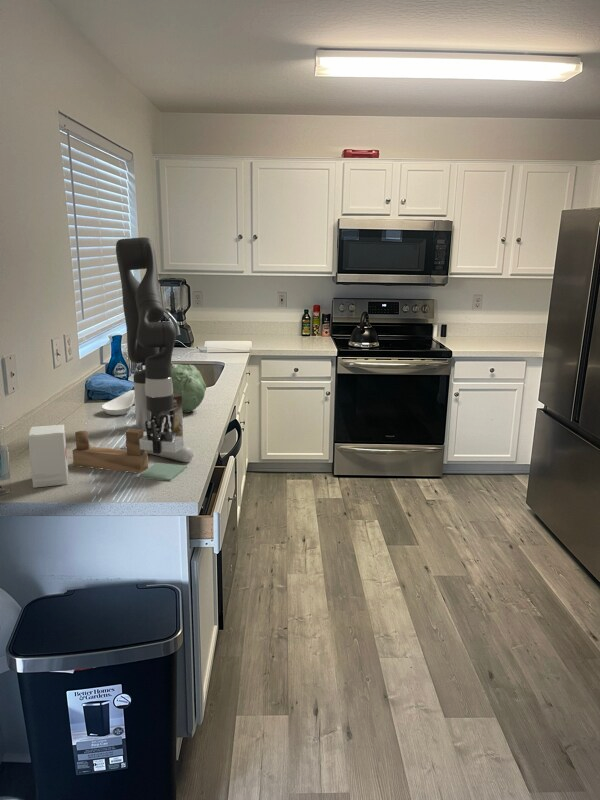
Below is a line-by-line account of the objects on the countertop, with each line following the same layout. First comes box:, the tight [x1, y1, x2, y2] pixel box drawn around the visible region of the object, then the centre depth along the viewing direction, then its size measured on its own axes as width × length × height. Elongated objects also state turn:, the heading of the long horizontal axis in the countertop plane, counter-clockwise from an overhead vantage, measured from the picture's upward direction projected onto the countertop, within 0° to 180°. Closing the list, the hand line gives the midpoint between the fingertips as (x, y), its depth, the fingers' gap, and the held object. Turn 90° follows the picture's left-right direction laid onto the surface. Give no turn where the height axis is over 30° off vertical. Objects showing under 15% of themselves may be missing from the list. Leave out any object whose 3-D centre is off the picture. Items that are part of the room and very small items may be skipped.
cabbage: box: [171, 363, 207, 414], centre depth 232 cm, size 16×19×20 cm
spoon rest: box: [101, 389, 135, 416], centre depth 236 cm, size 24×12×7 cm, turn 161°
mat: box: [137, 462, 188, 482], centre depth 169 cm, size 11×10×1 cm
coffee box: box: [150, 393, 184, 438], centre depth 195 cm, size 9×6×16 cm
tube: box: [125, 444, 194, 463], centre depth 182 cm, size 5×5×25 cm
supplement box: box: [27, 424, 69, 488], centre depth 160 cm, size 9×9×15 cm
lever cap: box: [139, 432, 185, 453], centre depth 167 cm, size 6×11×5 cm, turn 76°
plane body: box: [72, 428, 149, 474], centre depth 171 cm, size 4×22×12 cm, turn 77°
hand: (162, 449), depth 167 cm, fingers closed on lever cap, 5 cm apart
